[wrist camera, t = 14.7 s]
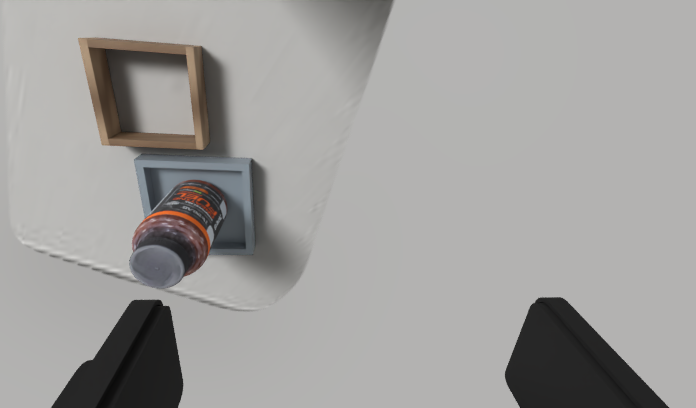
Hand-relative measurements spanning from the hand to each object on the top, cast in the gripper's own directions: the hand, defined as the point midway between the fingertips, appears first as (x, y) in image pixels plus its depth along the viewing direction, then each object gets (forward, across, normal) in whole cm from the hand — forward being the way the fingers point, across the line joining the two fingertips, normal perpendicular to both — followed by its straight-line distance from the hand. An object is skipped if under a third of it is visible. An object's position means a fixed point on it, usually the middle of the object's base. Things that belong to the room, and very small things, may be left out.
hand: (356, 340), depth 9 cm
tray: (+28, +12, +10) cm, 32 cm away
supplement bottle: (+28, +12, +10) cm, 32 cm away
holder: (+28, +15, -1) cm, 32 cm away
